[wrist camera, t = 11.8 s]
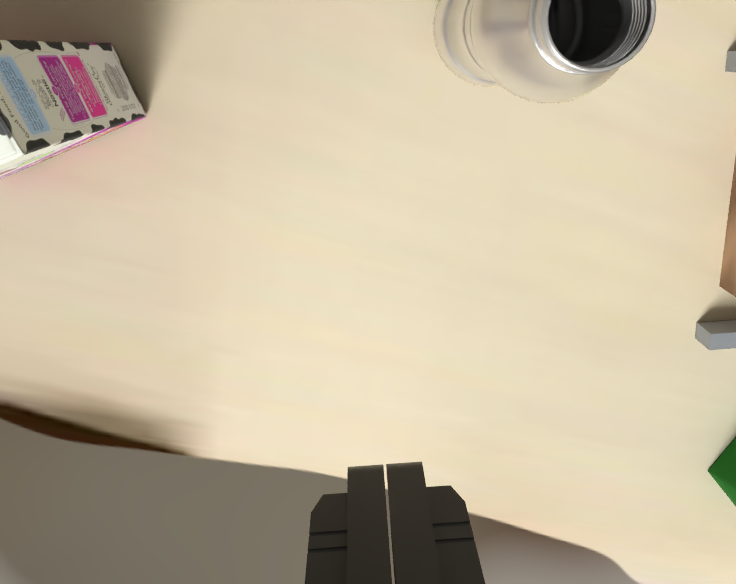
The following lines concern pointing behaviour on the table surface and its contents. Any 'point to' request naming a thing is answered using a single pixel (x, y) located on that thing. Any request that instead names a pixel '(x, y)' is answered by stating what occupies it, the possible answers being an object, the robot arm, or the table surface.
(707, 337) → the bay frame
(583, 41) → the plastic bottle
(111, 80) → the candy bar box
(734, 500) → the soya milk
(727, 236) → the t block
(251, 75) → the table surface
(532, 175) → the table surface
